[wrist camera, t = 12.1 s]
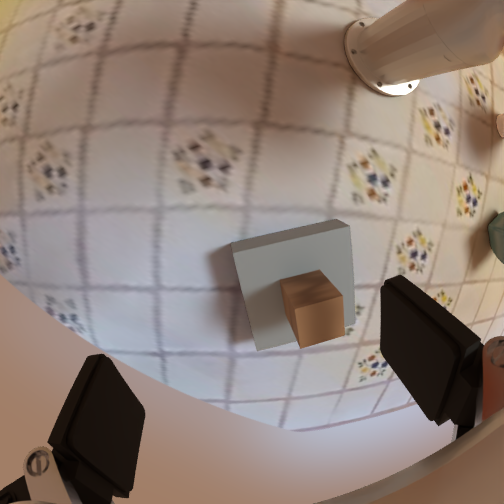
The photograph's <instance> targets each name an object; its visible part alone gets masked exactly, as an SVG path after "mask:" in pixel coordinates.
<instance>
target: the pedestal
mask: <svg viewBox="0 0 504 504" xmlns="http://www.w3.org/2000/svg"><path fill="white" fill-rule="evenodd" d="M231 247H232V253H233V257H234V261H235V265H236V269H237V273H238V278H239V282H240V286H241V290H242V294H243V298H244V302H245V306H246V310H247V314H248V318H249V322H250V326H251V330H252V334H253V338H254V342H255V345H256V349H257V351H260V350H264V349H268V348H272V347H276V346H280V345H284V344H288V343H291V342H295V341H297V340H296V337H295V335H294V333H293V330H292V328H291V326H290V324H289V321H288V319H287V317H286V314H285V308H284V303H283V297H282V291H281V286H280V279H284V278H288V277H292V276H296V275H300V274H304V273H308V272H312V271H316V270H319V269H320V270H321V271H322V273H323V274H324V275H325V276H326V277H327V278H328V279H329V280H330V282H331V283H332V284H333V285H334V286H335V287H336V288H337V289H338V291H339V292H340V293H341V294H342V295H343V305H344V327H346V326H349V325H352V324H355V293H354V272H353V256H352V244H351V232H350V226H349V225H347V224H345V223H343V222H342V221H340V220H338V219H334V220H330V221H325V222H320V223H316V224H311V225H307V226H303V227H298V228H294V229H289V230H285V231H280V232H276V233H272V234H267V235H263V236H258V237H254V238H250V239H245V240H241V241H237V242H232V243H231Z"/></svg>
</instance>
